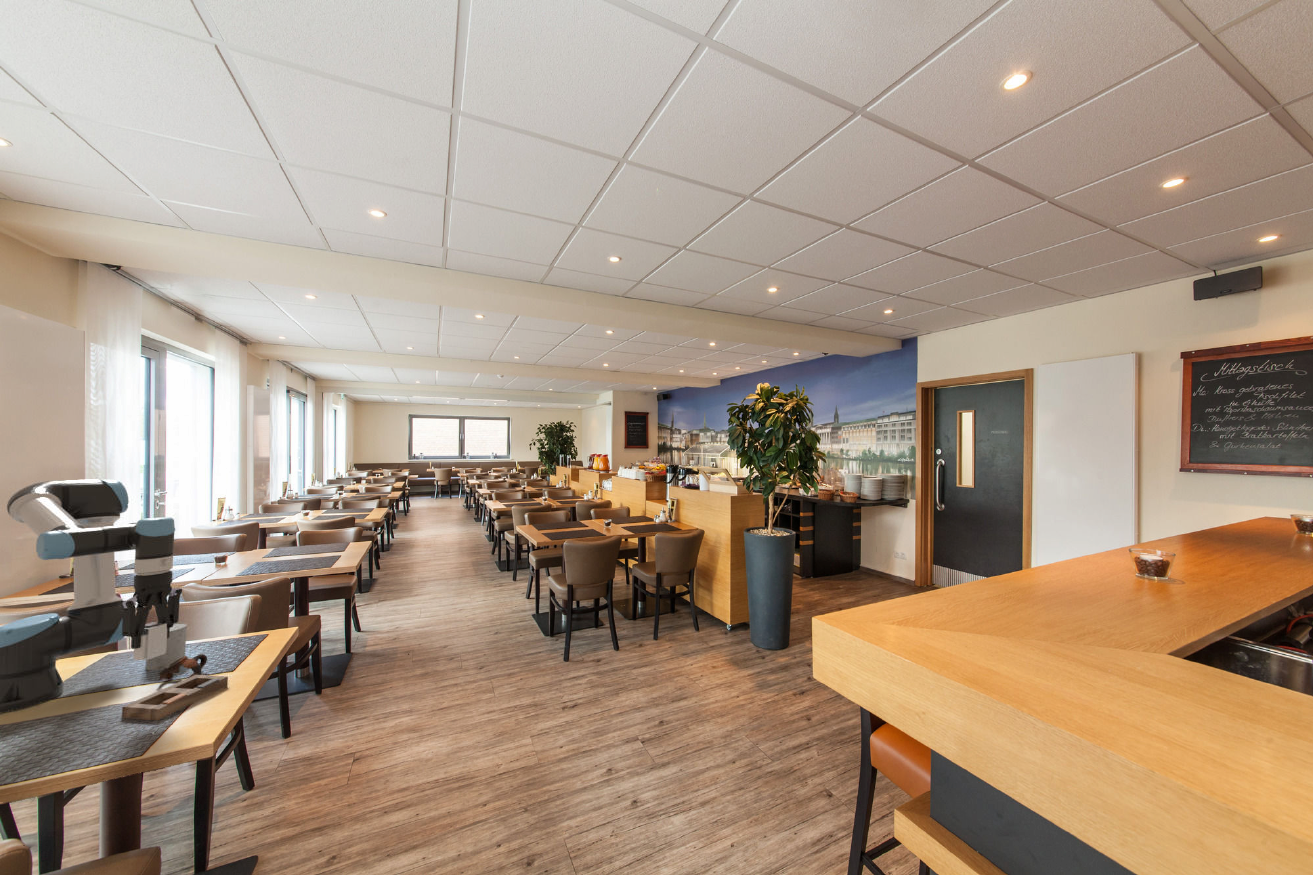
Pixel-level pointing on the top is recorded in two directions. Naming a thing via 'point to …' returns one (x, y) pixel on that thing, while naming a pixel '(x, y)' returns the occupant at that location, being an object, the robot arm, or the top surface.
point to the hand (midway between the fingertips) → (150, 655)
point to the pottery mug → (187, 663)
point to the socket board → (174, 697)
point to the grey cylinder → (170, 649)
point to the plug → (155, 639)
